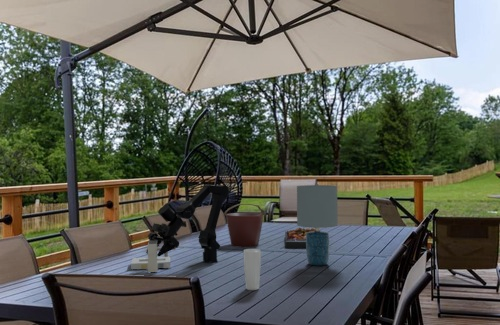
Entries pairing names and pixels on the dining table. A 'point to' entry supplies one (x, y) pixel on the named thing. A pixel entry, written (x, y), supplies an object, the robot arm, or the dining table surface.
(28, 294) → the dining table surface
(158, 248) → the pipe connector
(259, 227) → the bucket
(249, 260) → the drinking glass
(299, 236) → the food platter
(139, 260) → the socket panel
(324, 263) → the lamp
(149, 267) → the plug
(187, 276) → the dining table surface
